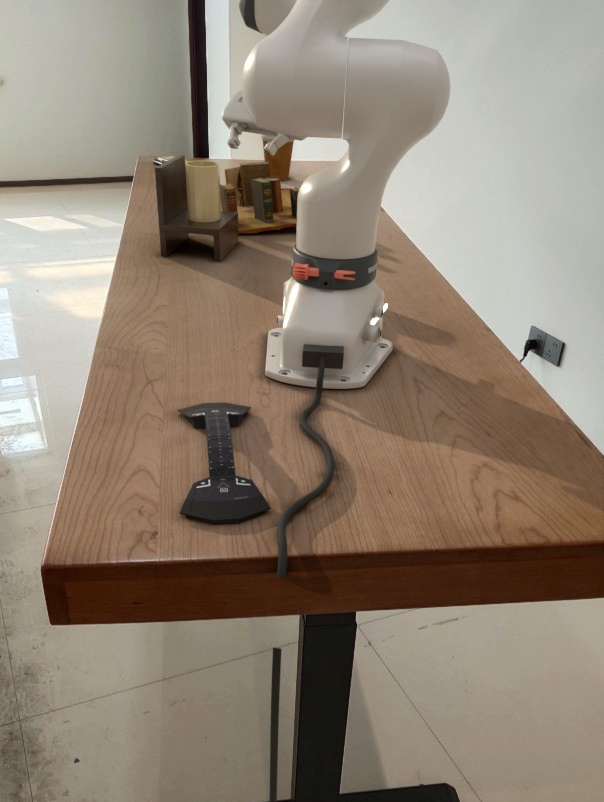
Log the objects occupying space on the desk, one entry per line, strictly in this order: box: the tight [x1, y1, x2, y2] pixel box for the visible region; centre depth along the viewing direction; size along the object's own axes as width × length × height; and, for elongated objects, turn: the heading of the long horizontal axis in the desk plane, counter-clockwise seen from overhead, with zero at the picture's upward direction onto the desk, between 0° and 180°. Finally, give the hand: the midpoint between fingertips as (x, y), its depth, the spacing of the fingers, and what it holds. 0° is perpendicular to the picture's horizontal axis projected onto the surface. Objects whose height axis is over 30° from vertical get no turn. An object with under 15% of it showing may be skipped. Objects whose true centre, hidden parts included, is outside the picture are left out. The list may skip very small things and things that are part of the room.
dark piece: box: [177, 402, 272, 525], centre depth 82 cm, size 9×25×3 cm, turn 8°
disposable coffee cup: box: [260, 134, 295, 181], centre depth 205 cm, size 10×10×12 cm
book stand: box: [220, 161, 300, 235], centre depth 168 cm, size 35×24×15 cm
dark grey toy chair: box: [154, 154, 239, 262], centre depth 144 cm, size 14×12×16 cm
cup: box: [185, 159, 221, 222], centre depth 143 cm, size 6×6×10 cm
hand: (249, 149), depth 143 cm, fingers open, 8 cm apart
